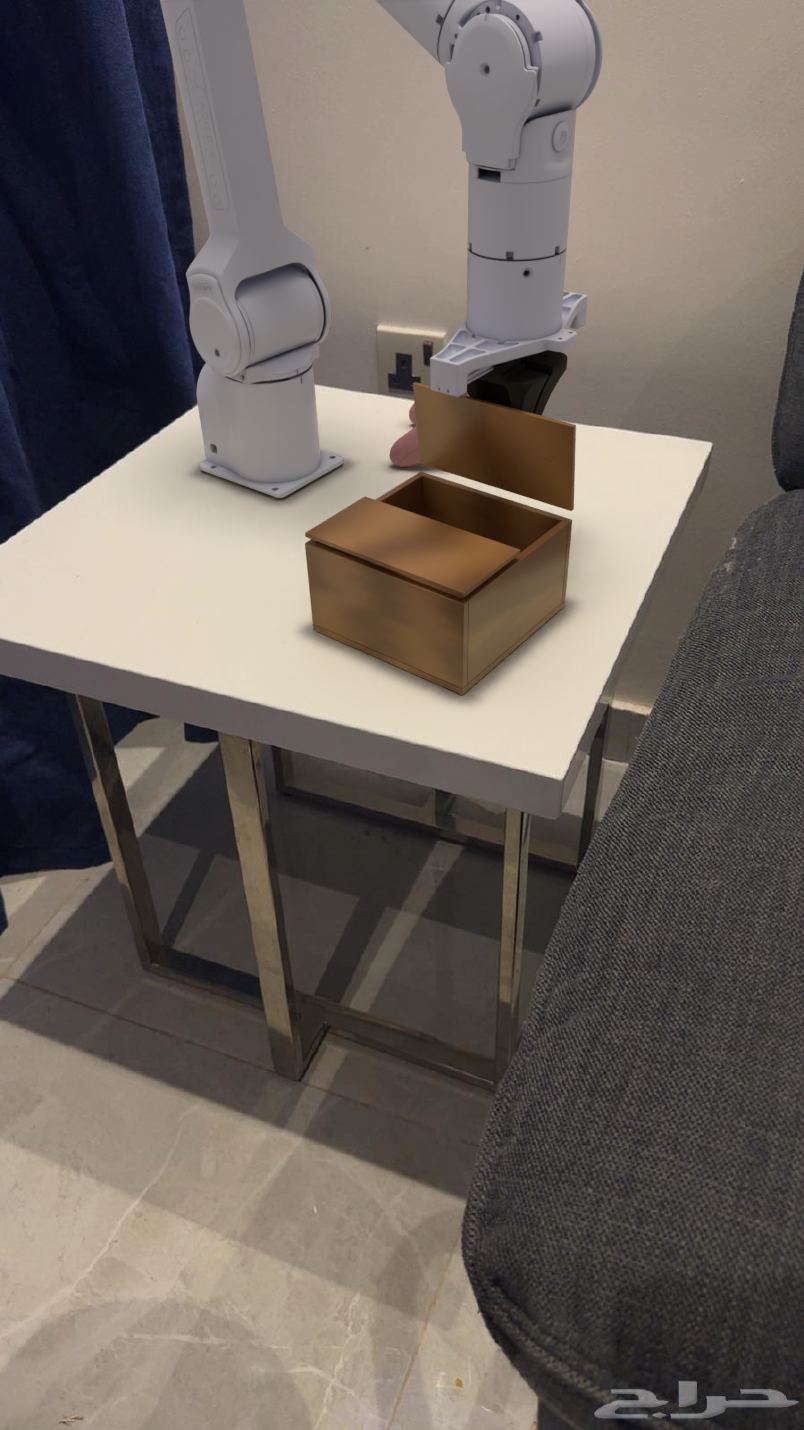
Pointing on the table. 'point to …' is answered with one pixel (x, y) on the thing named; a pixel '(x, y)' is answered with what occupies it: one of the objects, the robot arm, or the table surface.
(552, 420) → the flap
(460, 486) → the wooden box
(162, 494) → the table surface
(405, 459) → the video game controller
